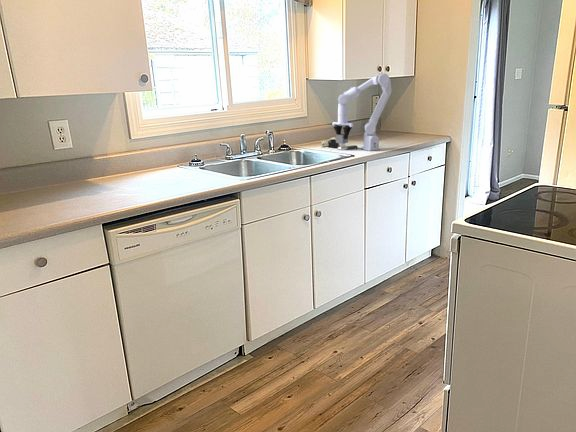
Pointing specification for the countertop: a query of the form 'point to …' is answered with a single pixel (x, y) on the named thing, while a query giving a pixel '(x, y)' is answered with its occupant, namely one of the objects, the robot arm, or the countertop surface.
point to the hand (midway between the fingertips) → (342, 138)
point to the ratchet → (346, 147)
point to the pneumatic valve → (330, 143)
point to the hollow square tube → (341, 139)
